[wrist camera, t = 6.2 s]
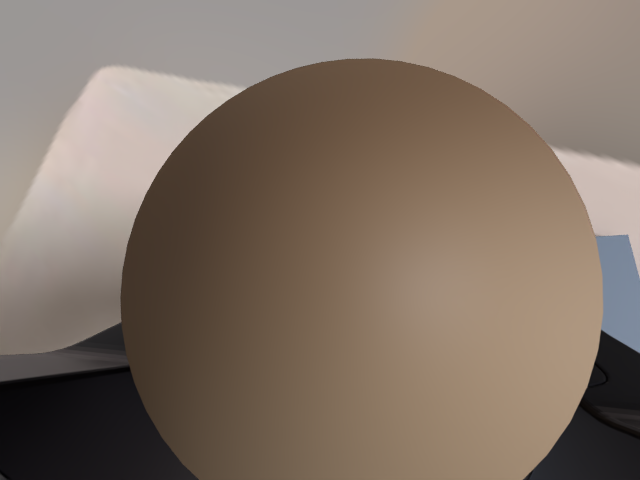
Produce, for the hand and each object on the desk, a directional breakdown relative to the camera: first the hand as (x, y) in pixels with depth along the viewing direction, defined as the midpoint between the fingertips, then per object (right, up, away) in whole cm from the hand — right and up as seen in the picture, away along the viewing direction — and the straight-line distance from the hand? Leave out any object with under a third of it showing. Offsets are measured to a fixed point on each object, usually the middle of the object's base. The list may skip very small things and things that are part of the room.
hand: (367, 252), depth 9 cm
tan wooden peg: (+1, -3, +5) cm, 6 cm away
